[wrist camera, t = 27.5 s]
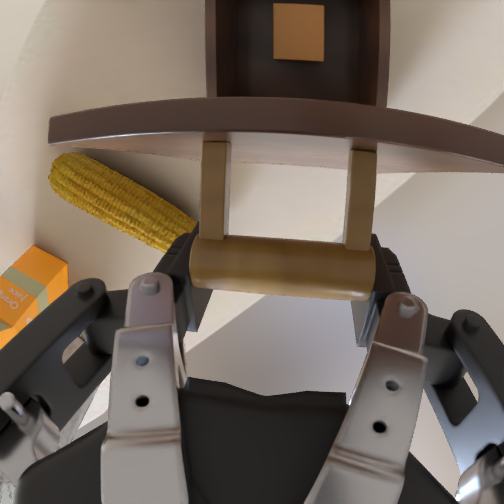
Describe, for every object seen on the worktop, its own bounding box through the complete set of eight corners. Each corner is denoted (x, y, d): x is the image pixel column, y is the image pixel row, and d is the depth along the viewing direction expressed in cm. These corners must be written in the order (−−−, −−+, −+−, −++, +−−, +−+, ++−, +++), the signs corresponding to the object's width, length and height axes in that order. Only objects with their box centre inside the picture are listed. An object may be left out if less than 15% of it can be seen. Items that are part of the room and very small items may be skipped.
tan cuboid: (276, 11, 23) (272, 2, 19) (321, 13, 22) (324, 5, 19) (276, 60, 25) (273, 59, 22) (321, 62, 25) (324, 61, 21)
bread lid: (48, 116, 7) (54, 294, 8) (532, 144, 5) (503, 332, 6) (207, 151, 23) (205, 218, 24) (381, 162, 21) (376, 231, 22)
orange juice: (36, 282, 48) (-28, 361, 31) (32, 244, 43) (-46, 325, 26) (69, 300, 48) (8, 388, 32) (68, 263, 44) (-8, 356, 27)
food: (67, 178, 36) (39, 197, 31) (76, 139, 33) (45, 154, 28) (207, 255, 39) (193, 285, 34) (227, 219, 36) (214, 247, 31)
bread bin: (230, -16, 22) (205, -43, 15) (366, -10, 20) (388, -36, 13) (232, 131, 30) (208, 155, 23) (360, 139, 29) (380, 166, 22)
